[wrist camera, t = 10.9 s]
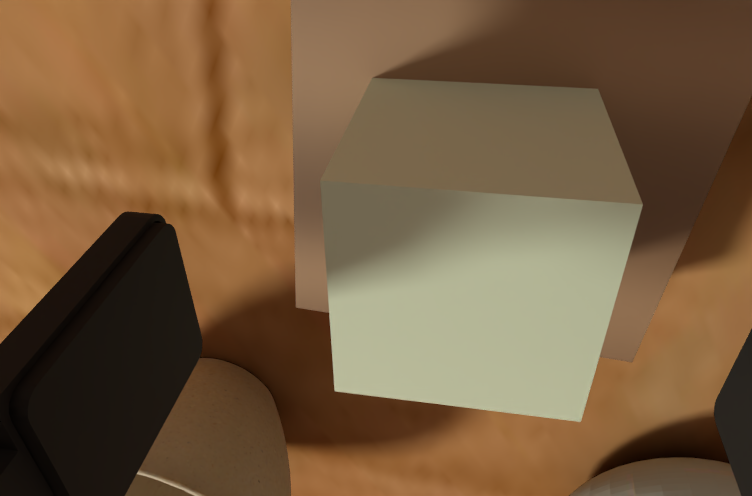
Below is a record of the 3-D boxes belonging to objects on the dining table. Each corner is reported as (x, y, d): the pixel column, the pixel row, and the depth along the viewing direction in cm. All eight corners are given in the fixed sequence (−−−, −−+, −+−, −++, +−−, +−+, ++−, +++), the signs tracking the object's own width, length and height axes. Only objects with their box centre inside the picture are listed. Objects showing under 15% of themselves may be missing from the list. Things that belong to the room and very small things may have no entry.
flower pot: (110, 285, 24) (-13, 428, 18) (348, 352, 24) (300, 518, 18) (119, 432, 30) (28, 576, 24) (311, 487, 30) (266, 645, 24)
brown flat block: (332, -80, 16) (289, -56, 12) (730, -40, 15) (796, -3, 11) (326, 235, 21) (295, 307, 18) (610, 278, 21) (632, 361, 17)
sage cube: (372, 77, 14) (319, 180, 10) (597, 88, 13) (643, 204, 9) (374, 254, 17) (334, 391, 13) (559, 271, 16) (580, 421, 12)
